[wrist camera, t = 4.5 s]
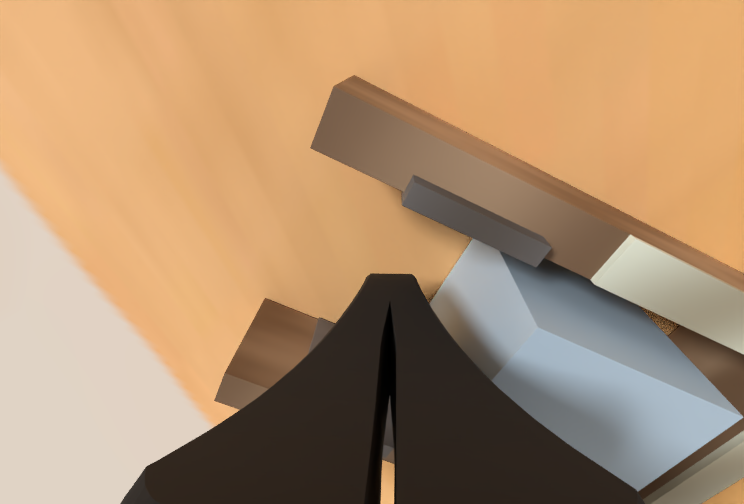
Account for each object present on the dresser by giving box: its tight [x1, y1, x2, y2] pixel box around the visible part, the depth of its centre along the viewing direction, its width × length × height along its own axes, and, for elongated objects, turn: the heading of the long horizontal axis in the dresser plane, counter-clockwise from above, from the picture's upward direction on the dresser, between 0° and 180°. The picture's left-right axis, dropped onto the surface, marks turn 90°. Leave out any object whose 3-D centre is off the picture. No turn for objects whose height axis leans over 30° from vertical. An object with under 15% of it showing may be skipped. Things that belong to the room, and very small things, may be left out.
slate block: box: [429, 239, 743, 491], centre depth 11 cm, size 5×5×5 cm
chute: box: [214, 75, 744, 504], centre depth 11 cm, size 14×9×4 cm, turn 65°
